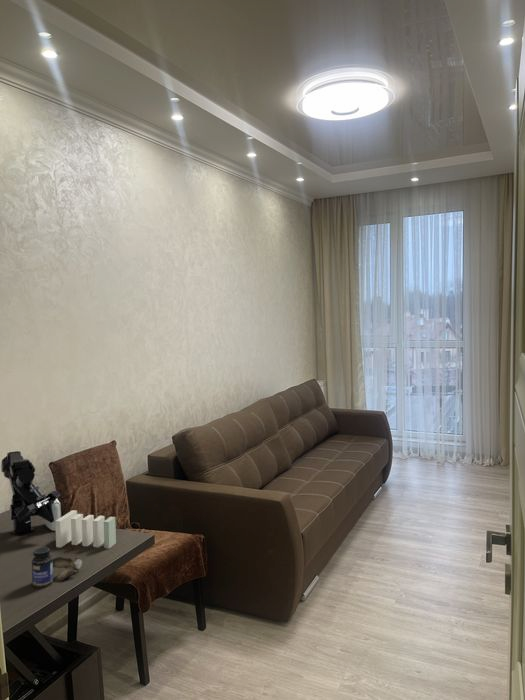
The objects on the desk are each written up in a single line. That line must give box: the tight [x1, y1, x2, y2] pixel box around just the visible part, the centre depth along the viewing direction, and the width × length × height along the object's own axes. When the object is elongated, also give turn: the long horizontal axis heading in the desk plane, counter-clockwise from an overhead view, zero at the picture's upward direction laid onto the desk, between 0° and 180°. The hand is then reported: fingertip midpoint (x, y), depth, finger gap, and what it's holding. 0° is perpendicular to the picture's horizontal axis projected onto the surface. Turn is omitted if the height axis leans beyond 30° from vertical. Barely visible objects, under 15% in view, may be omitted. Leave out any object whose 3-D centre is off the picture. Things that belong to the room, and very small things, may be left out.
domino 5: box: [103, 516, 117, 549], centre depth 198 cm, size 2×5×10 cm, turn 167°
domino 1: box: [55, 509, 78, 548], centre depth 202 cm, size 2×11×10 cm, turn 167°
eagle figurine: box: [52, 554, 83, 583], centre depth 175 cm, size 8×7×9 cm
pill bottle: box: [31, 546, 54, 589], centre depth 169 cm, size 6×6×11 cm
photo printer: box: [44, 498, 62, 532], centre depth 215 cm, size 10×4×12 cm, turn 39°
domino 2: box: [71, 513, 84, 546], centre depth 201 cm, size 2×5×10 cm, turn 167°
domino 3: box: [81, 514, 95, 547], centre depth 200 cm, size 2×5×10 cm, turn 167°
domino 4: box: [92, 515, 106, 548], centre depth 199 cm, size 2×5×10 cm, turn 167°
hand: (52, 521), depth 202 cm, fingers closed
